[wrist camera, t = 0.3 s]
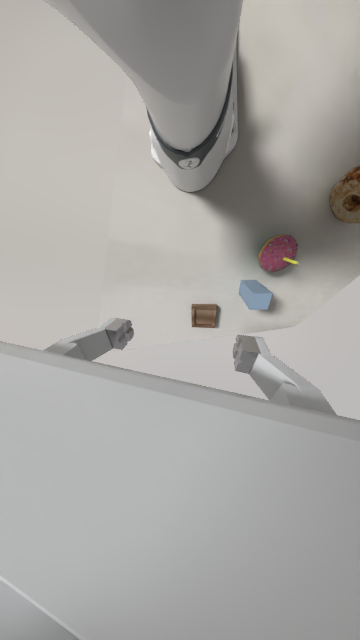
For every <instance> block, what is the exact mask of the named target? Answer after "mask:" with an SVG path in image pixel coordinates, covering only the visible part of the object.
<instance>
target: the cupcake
mask: <svg viewBox="0 0 360 640" xmlns="http://www.w3.org/2000/svg"><path fill="white" fill-rule="evenodd" d="M297 246H298V245H297V244H296V242H295V240H294V238H293V237H291V236H287V235H277V236H275V237H273V238H271V239H269V240H268V241H267V242H266V243H265V244H264V246H263V247H262V249H261V251H260V252H259V254H258V261H259V264H260V267H261V268H262V269H264V270H267V271H271V272H274V271H278V270H281V269H284V268H285V267H286V266H288V265H290V263H292V264H295V265H297V264H298V265H300V264H299V263H298V262H297V261H294V258H295V256H296V252H297Z"/></svg>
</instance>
